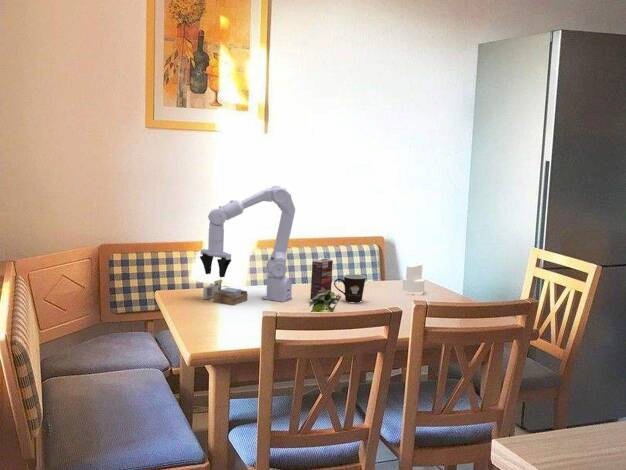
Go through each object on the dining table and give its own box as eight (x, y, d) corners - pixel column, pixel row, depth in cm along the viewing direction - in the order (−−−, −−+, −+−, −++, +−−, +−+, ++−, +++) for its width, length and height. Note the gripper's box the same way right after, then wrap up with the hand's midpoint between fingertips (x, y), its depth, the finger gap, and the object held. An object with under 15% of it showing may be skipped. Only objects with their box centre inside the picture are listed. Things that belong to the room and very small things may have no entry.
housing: (247, 300, 266) (247, 290, 265) (233, 305, 257) (233, 295, 256) (227, 296, 269) (227, 287, 269) (213, 302, 260) (213, 292, 260)
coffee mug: (367, 300, 274) (368, 276, 272) (359, 305, 266) (361, 279, 264) (340, 296, 278) (341, 272, 277) (332, 300, 271) (333, 276, 269)
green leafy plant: (320, 326, 253) (332, 298, 257) (339, 328, 244) (351, 299, 248) (298, 312, 247) (312, 283, 251) (317, 313, 239) (330, 283, 243)
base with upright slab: (408, 289, 297) (410, 262, 296) (427, 293, 292) (429, 265, 290) (398, 292, 290) (400, 265, 288) (417, 296, 285) (419, 268, 283)
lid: (240, 294, 264) (241, 289, 263) (233, 297, 259) (234, 291, 259) (227, 292, 266) (227, 287, 266) (220, 294, 262) (220, 289, 261)
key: (218, 293, 274) (218, 279, 273) (223, 294, 273) (223, 279, 272) (202, 298, 264) (202, 284, 263) (207, 299, 263) (207, 284, 262)
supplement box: (320, 303, 266) (322, 262, 264) (309, 301, 269) (311, 261, 266) (331, 299, 273) (333, 260, 271) (321, 297, 276) (323, 258, 274)
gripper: (195, 238, 262) (194, 273, 264) (222, 244, 254) (221, 279, 256) (208, 237, 268) (207, 271, 270) (235, 242, 259) (234, 277, 261)
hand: (215, 275), depth 263 cm, fingers open, 7 cm apart
